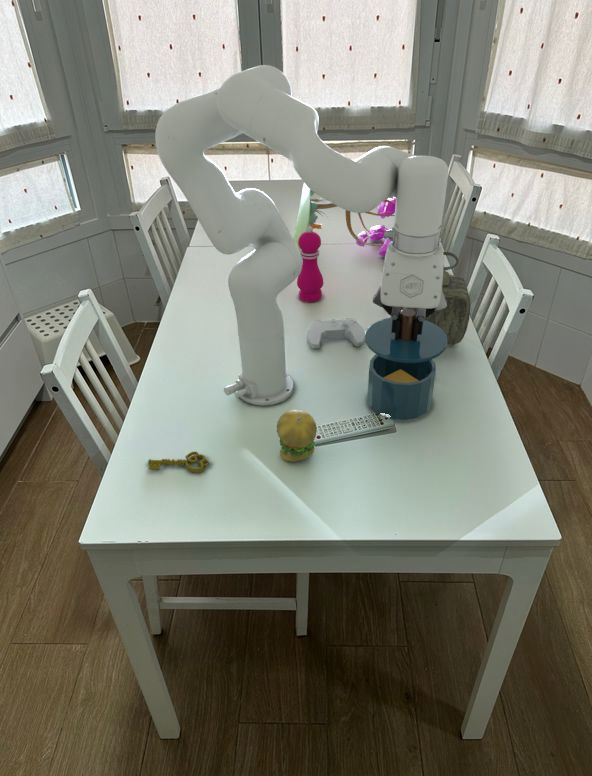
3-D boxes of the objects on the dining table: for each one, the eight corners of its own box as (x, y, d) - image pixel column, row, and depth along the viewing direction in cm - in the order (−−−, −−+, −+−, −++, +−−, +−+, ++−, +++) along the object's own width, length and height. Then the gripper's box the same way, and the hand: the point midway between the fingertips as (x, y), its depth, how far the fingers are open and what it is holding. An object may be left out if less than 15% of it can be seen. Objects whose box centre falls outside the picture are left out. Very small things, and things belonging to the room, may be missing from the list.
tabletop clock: (459, 341, 154) (474, 244, 138) (463, 361, 147) (480, 262, 132) (399, 340, 155) (408, 243, 139) (401, 360, 148) (411, 261, 132)
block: (397, 411, 133) (399, 390, 129) (380, 399, 136) (381, 378, 133) (416, 401, 135) (419, 380, 132) (398, 389, 139) (400, 368, 135)
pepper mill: (320, 304, 170) (320, 232, 158) (294, 302, 172) (292, 231, 159) (325, 291, 176) (325, 221, 163) (300, 289, 177) (298, 220, 164)
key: (145, 467, 120) (151, 449, 124) (146, 472, 121) (152, 454, 125) (207, 469, 119) (211, 451, 123) (207, 473, 120) (211, 456, 124)
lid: (402, 375, 107) (406, 344, 103) (348, 338, 116) (349, 308, 112) (463, 347, 113) (469, 316, 109) (407, 314, 123) (410, 285, 119)
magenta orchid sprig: (304, 138, 186) (418, 151, 191) (292, 219, 209) (395, 229, 213) (307, 199, 169) (433, 212, 173) (294, 280, 192) (405, 290, 196)
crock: (397, 430, 129) (401, 393, 123) (354, 399, 137) (356, 362, 131) (444, 405, 135) (449, 368, 129) (400, 376, 143) (403, 340, 137)
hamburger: (306, 441, 127) (305, 394, 119) (324, 463, 122) (324, 414, 114) (272, 454, 124) (268, 406, 116) (288, 476, 119) (286, 428, 111)
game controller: (307, 343, 149) (304, 314, 156) (307, 356, 153) (304, 328, 159) (368, 339, 150) (362, 311, 156) (366, 352, 153) (361, 324, 160)
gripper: (364, 245, 100) (359, 344, 112) (468, 251, 98) (451, 351, 110) (368, 227, 106) (363, 322, 118) (466, 232, 104) (451, 328, 116)
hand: (406, 335), depth 114 cm, fingers closed on lid, 2 cm apart
